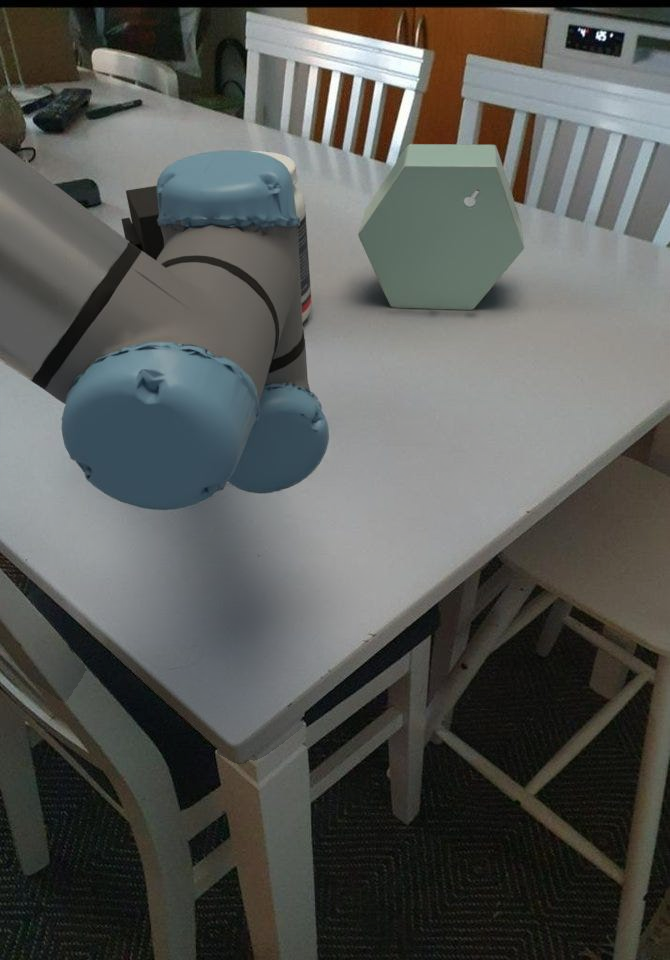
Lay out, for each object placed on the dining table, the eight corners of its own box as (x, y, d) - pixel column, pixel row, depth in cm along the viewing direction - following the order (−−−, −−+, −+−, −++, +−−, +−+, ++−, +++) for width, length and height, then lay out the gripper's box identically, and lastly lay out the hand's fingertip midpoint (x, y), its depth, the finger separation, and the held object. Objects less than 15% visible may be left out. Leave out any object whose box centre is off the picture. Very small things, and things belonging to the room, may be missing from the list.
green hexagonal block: (447, 313, 109) (551, 185, 97) (446, 342, 103) (557, 209, 91) (341, 245, 105) (436, 102, 92) (333, 270, 99) (433, 121, 86)
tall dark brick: (161, 334, 74) (138, 217, 67) (147, 302, 79) (125, 190, 72) (214, 323, 76) (197, 207, 69) (197, 292, 81) (180, 181, 74)
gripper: (105, 407, 60) (71, 280, 77) (332, 357, 65) (252, 248, 82) (81, 317, 56) (51, 203, 73) (328, 269, 60) (245, 173, 77)
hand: (158, 227), depth 77 cm, fingers closed on tall dark brick, 5 cm apart
